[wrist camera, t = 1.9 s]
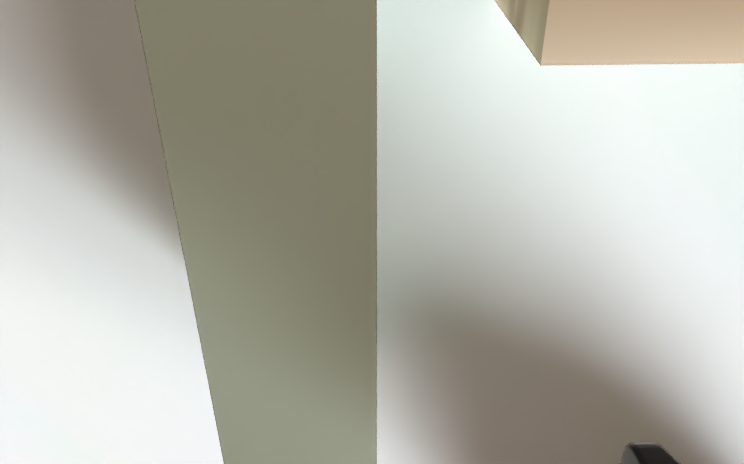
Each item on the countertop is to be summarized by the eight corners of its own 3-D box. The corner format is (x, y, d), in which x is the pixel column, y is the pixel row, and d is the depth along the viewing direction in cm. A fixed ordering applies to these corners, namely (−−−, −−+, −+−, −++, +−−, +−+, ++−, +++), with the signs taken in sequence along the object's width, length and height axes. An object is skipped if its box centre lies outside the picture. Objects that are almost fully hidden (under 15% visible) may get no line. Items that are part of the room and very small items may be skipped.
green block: (367, 354, 21) (376, 715, 13) (305, 355, 21) (273, 717, 13) (363, -149, 14) (377, -71, 5) (265, -148, 14) (121, -69, 5)
